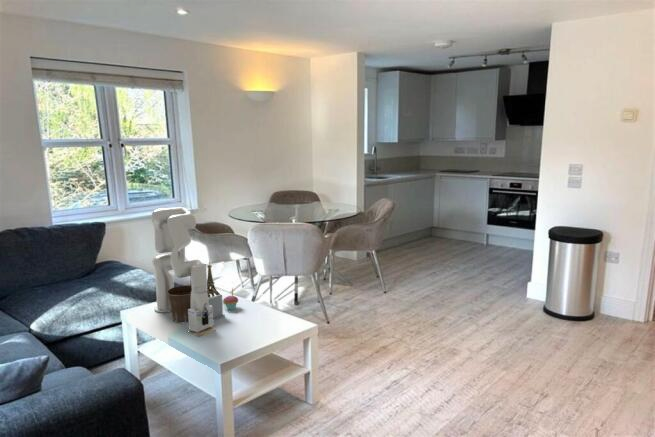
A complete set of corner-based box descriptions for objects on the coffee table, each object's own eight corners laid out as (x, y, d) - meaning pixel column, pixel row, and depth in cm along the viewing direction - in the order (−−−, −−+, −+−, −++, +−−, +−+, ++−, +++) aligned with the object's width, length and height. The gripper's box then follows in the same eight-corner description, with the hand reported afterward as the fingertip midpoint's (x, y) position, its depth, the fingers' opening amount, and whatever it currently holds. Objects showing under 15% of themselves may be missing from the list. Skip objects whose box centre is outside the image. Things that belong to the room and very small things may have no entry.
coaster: (187, 331, 228) (187, 330, 228) (204, 325, 236) (204, 324, 236) (198, 336, 222) (198, 335, 222) (215, 330, 229) (215, 329, 229)
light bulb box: (205, 322, 235) (204, 302, 233) (214, 325, 231) (213, 305, 229) (188, 329, 226) (187, 308, 225) (197, 332, 223) (196, 311, 221)
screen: (197, 321, 240) (196, 300, 238) (219, 314, 251) (218, 293, 249) (202, 324, 237) (201, 302, 235) (224, 316, 247) (223, 295, 245)
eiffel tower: (222, 296, 281) (220, 256, 277) (216, 302, 271) (214, 261, 267) (206, 295, 283) (204, 256, 278) (199, 301, 272) (197, 260, 268)
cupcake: (231, 304, 266) (230, 284, 264) (241, 307, 261) (241, 287, 259) (220, 309, 259) (219, 288, 257) (230, 312, 254) (229, 291, 252)
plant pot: (191, 325, 235) (189, 295, 233) (162, 323, 239) (160, 293, 236) (205, 314, 251) (204, 286, 249) (178, 312, 254) (177, 284, 252)
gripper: (183, 286, 228) (185, 320, 231) (202, 294, 217) (204, 329, 220) (196, 283, 234) (197, 315, 237) (216, 290, 222) (217, 324, 225)
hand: (201, 322), depth 228 cm, fingers closed on light bulb box, 7 cm apart
